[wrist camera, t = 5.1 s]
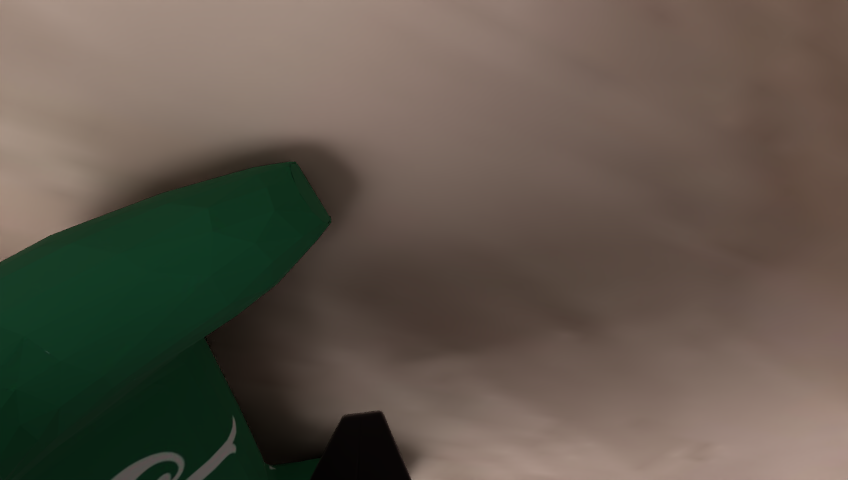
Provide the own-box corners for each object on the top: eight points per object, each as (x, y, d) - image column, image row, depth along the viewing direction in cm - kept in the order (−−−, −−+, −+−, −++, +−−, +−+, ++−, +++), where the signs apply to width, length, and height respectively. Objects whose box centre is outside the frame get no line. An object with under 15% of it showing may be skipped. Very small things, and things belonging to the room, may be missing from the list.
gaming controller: (206, 119, 10) (-256, 294, 6) (338, 158, 7) (-281, 476, 4) (320, 431, 15) (104, 626, 11) (420, 511, 12) (189, 791, 9)
